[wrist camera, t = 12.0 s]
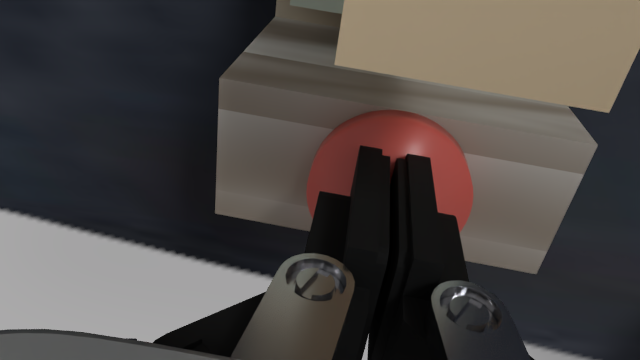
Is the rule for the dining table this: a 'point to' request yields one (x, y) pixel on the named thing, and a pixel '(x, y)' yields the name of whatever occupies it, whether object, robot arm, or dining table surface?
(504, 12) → the carriage
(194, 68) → the dining table surface
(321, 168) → the button
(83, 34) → the dining table surface
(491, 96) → the rail base
